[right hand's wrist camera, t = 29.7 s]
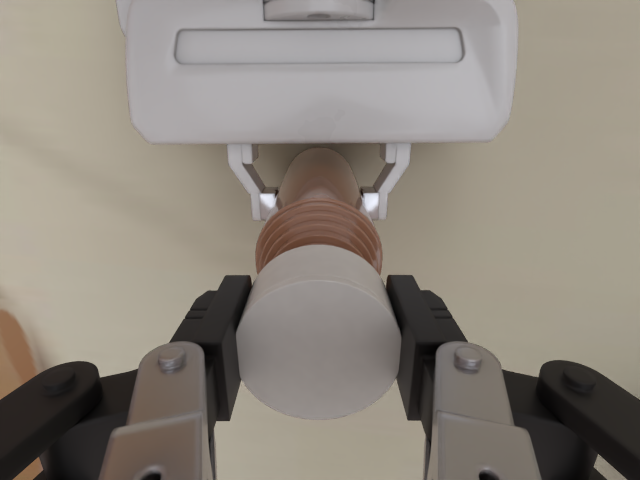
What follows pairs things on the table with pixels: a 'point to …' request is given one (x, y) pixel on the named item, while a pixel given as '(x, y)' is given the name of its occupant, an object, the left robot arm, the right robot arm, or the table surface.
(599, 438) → the right robot arm
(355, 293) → the cap
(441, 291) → the table surface
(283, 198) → the bottle
